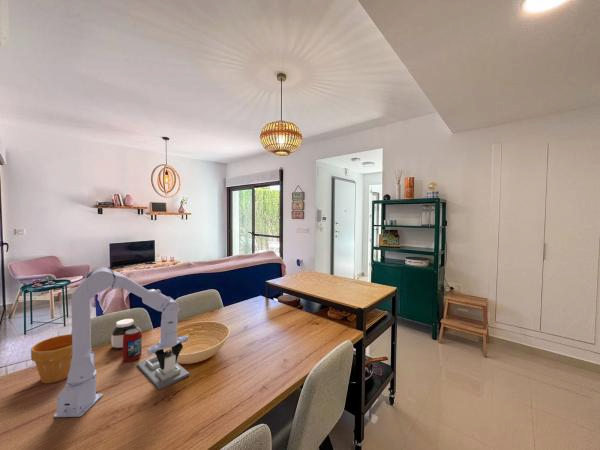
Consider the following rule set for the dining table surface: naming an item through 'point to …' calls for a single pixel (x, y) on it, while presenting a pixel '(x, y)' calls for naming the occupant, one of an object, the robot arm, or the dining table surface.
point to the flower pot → (53, 358)
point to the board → (157, 377)
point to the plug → (169, 362)
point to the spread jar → (121, 332)
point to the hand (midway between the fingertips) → (168, 365)
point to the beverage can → (132, 344)
